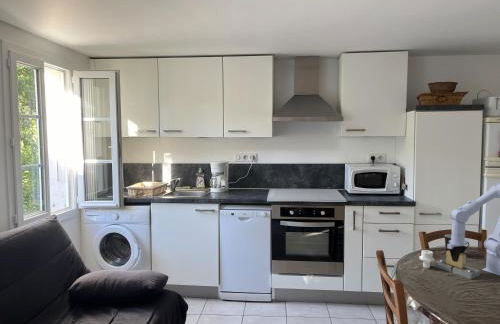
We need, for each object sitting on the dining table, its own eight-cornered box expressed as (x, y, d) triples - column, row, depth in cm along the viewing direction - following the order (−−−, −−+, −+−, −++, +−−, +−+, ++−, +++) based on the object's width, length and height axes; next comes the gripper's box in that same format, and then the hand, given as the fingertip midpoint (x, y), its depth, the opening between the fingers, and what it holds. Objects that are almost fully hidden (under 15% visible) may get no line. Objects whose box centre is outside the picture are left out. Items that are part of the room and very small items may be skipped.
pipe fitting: (430, 264, 183) (430, 249, 182) (435, 269, 176) (436, 254, 175) (417, 263, 184) (418, 249, 183) (422, 269, 177) (423, 253, 176)
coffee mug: (440, 252, 202) (441, 235, 201) (450, 250, 206) (451, 233, 205) (459, 258, 192) (460, 241, 191) (469, 256, 195) (470, 239, 194)
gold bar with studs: (465, 267, 172) (465, 253, 172) (462, 268, 170) (462, 254, 170) (449, 262, 179) (449, 249, 178) (445, 263, 177) (446, 250, 177)
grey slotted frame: (479, 275, 169) (480, 269, 169) (470, 279, 165) (471, 272, 164) (443, 263, 184) (443, 258, 184) (434, 266, 180) (434, 260, 180)
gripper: (458, 230, 180) (456, 255, 181) (441, 233, 173) (440, 260, 174) (472, 233, 174) (470, 259, 175) (456, 237, 167) (454, 265, 168)
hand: (456, 260), depth 174 cm, fingers closed on gold bar with studs, 3 cm apart
